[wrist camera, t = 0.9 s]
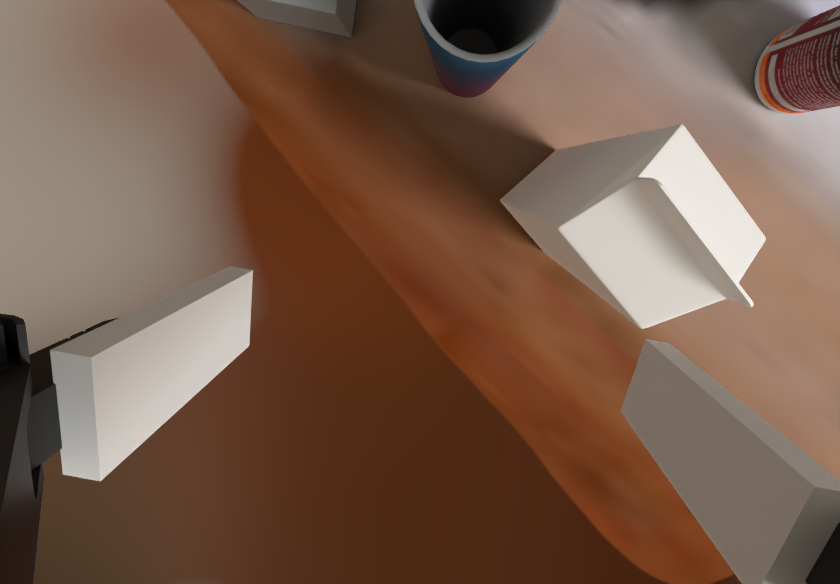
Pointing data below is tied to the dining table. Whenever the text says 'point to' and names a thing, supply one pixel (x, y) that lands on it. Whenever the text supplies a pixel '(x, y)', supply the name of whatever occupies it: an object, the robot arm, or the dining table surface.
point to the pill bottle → (802, 66)
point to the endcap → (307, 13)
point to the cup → (481, 38)
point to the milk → (640, 223)
